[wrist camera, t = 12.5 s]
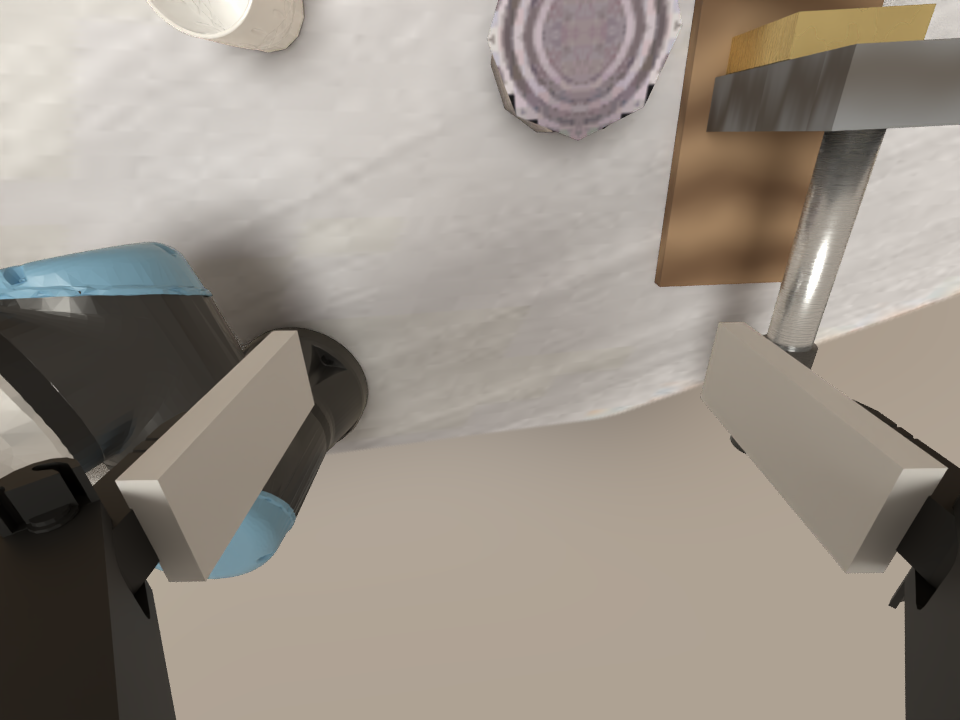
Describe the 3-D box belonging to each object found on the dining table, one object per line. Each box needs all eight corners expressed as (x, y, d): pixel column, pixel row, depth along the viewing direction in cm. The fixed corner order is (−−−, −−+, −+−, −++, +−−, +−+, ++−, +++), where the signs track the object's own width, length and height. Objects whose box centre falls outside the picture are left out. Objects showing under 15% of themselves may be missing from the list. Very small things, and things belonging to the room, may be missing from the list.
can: (647, -1, 35) (717, -59, 24) (595, 150, 40) (634, 156, 30) (511, -48, 34) (523, -130, 23) (475, 114, 39) (471, 108, 28)
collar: (829, 68, 36) (919, 52, 28) (725, 74, 36) (788, 59, 29) (839, 31, 35) (936, 3, 27) (732, 37, 35) (799, 11, 28)
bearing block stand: (790, 276, 46) (941, 348, 30) (654, 282, 46) (737, 355, 31) (906, -125, 32) (1290, -359, 17) (711, -112, 32) (912, -329, 17)
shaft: (767, 429, 43) (795, 458, 39) (721, 430, 43) (745, 460, 39) (873, 96, 30) (932, 91, 26) (807, 100, 30) (855, 95, 26)
